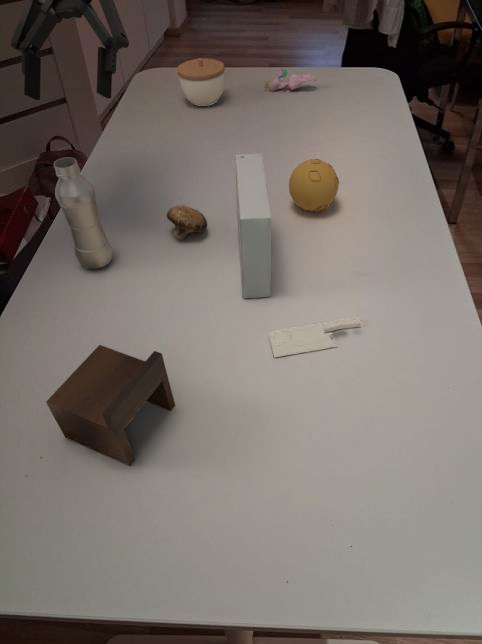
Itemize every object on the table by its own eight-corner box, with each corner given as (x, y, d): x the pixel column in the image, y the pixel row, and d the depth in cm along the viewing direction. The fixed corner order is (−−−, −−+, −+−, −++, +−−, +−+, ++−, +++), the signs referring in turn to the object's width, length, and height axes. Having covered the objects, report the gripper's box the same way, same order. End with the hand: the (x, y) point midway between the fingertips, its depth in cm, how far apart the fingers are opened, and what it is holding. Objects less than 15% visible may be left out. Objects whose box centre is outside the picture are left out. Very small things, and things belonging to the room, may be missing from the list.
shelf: (64, 437, 74) (37, 386, 66) (113, 381, 80) (93, 329, 72) (130, 466, 70) (109, 416, 62) (175, 405, 77) (162, 353, 69)
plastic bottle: (93, 248, 104) (61, 149, 89) (122, 257, 101) (94, 157, 87) (72, 268, 100) (34, 167, 85) (101, 277, 98) (68, 176, 83)
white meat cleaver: (367, 341, 84) (368, 336, 83) (273, 358, 82) (273, 353, 82) (357, 319, 87) (358, 314, 86) (267, 334, 86) (267, 330, 85)
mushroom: (166, 237, 100) (175, 203, 98) (158, 230, 107) (166, 199, 105) (206, 248, 103) (215, 216, 102) (195, 241, 110) (204, 211, 109)
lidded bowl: (172, 102, 150) (166, 59, 142) (208, 88, 155) (203, 47, 147) (200, 115, 143) (195, 71, 135) (236, 101, 149) (233, 58, 141)
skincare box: (274, 297, 92) (272, 217, 80) (242, 300, 92) (235, 220, 80) (265, 227, 106) (262, 151, 95) (237, 229, 106) (231, 153, 95)
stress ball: (295, 223, 107) (295, 177, 100) (284, 198, 114) (283, 153, 106) (343, 216, 108) (347, 170, 101) (329, 191, 115) (332, 146, 107)
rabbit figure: (264, 98, 152) (317, 90, 149) (260, 76, 148) (314, 67, 145) (267, 89, 157) (318, 81, 153) (263, 68, 152) (315, 59, 149)
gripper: (155, -45, 82) (148, 102, 85) (22, -29, 89) (21, 105, 92) (128, -76, 75) (122, 86, 78) (-14, -56, 82) (-14, 90, 85)
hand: (67, 96), depth 85 cm, fingers open, 13 cm apart
